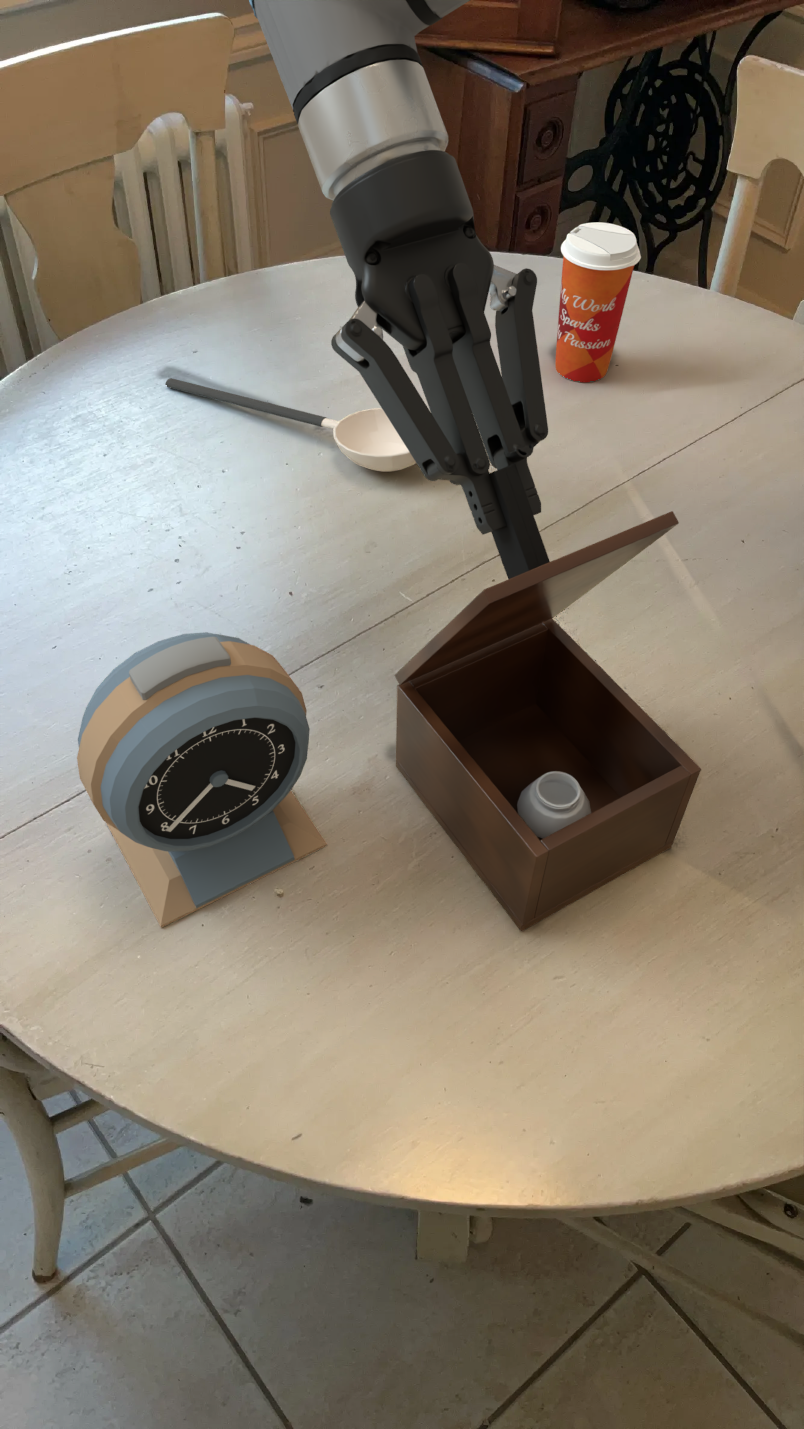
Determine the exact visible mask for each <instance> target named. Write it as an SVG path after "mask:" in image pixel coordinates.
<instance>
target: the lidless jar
mask: <svg viewBox="0 0 804 1429" xmlns="http://www.w3.org/2000/svg"><path fill="white" fill-rule="evenodd" d="M517 809H518V814H519V816H520V817H521V818H522V819H523V820H524V822H525V823H526V824H527V825H528V826H529V828H530V829H531V830H532V831H533V833H534V834H535V835H536V836H537V837H540V838H545V837H547V836H549V835H551V834H553V833H555V832H557V831H559V830H560V829H562V828H564V827H566V826H568V825H570V824H572V823H574V822H576V821H577V820H579V819H581V818H583V817H585V816H587V815H589V814H591V808H590V802H589V800H588V798H587V797H586V795H585V793H584V792H583V790H582V789H581V787H580V785H579V783H578V782H577V780H576V779H575V778H573V777H572V776H571V775H569V774H567V773H564V772H559V771H553V772H548V773H546V774H544V775H542V776H541V777H539V778H538V779H536V780H535V781H533V782H532V783H531V784H529V785H528V786H527V787H526V788H525V789H524V790H523V791H522V792H521V795H520V797H519V800H518V803H517Z"/></svg>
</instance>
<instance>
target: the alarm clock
mask: <svg viewBox="0 0 804 1429" xmlns="http://www.w3.org/2000/svg"><path fill="white" fill-rule="evenodd" d="M307 711H308V710H307V706H306V704H305V700H304V696H303V693H302V691H301V689H300V688H299V687H298V686H297V684H296V683H295V681H294V680H293V679H292V677H291V675H289V674H288V671H286V669H285V668H284V667H283V666H282V664H281V663H280V662H279V661H278V660H277V658H276V657H275V656H274V655H273V654H271V653H269V652H267V651H265V650H264V649H262V648H260V647H259V646H257V645H254V644H251V643H249V642H247V641H245V640H243V639H241V638H239V637H235V636H228V635H223V634H219V633H213V632H207V631H205V632H193V633H182V634H179V635H174V636H171V637H168V638H165V639H161V640H158V641H156V642H154V643H152V644H150V645H148V646H146V647H144V648H142V649H140V650H138V651H136V652H134V653H133V654H132V655H130V656H129V657H128V658H126V659H125V660H124V661H122V662H121V663H120V664H118V665H117V666H116V667H115V668H113V669H112V670H111V671H110V672H109V674H107V676H106V677H105V678H104V680H102V681H101V682H100V684H99V685H98V686H97V687H96V688H95V690H94V692H93V694H92V696H91V698H90V699H89V702H88V703H87V705H86V707H85V709H84V713H83V714H82V719H81V722H80V727H79V732H78V736H77V745H78V752H77V756H76V762H77V770H78V775H79V779H80V781H81V784H82V786H83V788H84V789H85V791H86V793H87V795H88V797H89V798H90V801H91V803H92V805H93V806H94V808H95V810H96V811H97V813H98V814H99V816H100V817H101V819H102V821H104V823H105V824H106V825H107V828H108V829H109V831H110V833H111V835H112V837H113V839H114V841H115V842H116V845H117V844H118V845H117V847H118V848H119V850H120V852H121V854H122V856H123V858H124V860H125V862H126V863H127V865H129V866H128V867H129V869H130V871H131V873H132V875H133V877H134V879H135V881H136V883H137V884H138V886H139V888H140V891H141V892H142V894H143V896H144V898H145V900H146V902H147V903H148V905H149V907H150V909H151V911H152V914H153V915H154V918H155V919H156V921H157V923H158V925H159V926H160V928H161V929H162V928H164V927H167V926H168V925H170V924H172V923H174V922H176V921H178V920H181V919H182V918H184V917H186V916H188V915H190V914H192V913H194V912H196V911H199V910H200V909H202V908H204V907H207V906H209V905H211V904H212V903H214V902H216V901H218V900H221V899H223V898H224V897H227V896H229V895H230V894H232V893H235V892H237V891H238V890H241V889H242V888H244V887H247V886H249V885H251V884H252V883H254V882H257V881H259V880H261V879H262V878H264V877H267V876H269V875H271V874H273V873H275V872H276V871H279V870H281V869H283V868H285V867H287V866H289V865H292V864H293V863H295V862H297V861H299V860H301V859H303V858H305V857H307V856H309V855H311V854H313V853H315V852H317V851H320V850H321V849H323V848H326V847H328V842H327V840H325V838H324V837H323V836H322V833H321V832H320V831H319V829H318V828H317V826H316V825H315V823H314V822H313V821H312V819H311V817H310V816H309V815H308V813H307V812H306V810H305V809H304V807H303V805H302V804H301V802H300V801H299V800H298V798H297V797H296V795H295V794H294V793H293V791H292V789H293V788H294V786H295V784H296V783H297V782H298V781H299V779H300V777H301V775H302V772H303V769H304V768H305V765H306V762H307V760H308V753H309V743H310V742H309V740H310V730H311V728H310V725H309V721H308V718H307ZM250 883H251V884H250Z"/></svg>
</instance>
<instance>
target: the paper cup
mask: <svg viewBox="0 0 804 1429" xmlns="http://www.w3.org/2000/svg"><path fill="white" fill-rule="evenodd" d="M637 241H638V240H637V238H636V235H635V233H634V232H632V231H631V230H629V228H626V227H624V226H621V225H618V224H614V223H609V222H600V221H599V222H586V223H581V224H578V226H576V227H574V228H573V229H572V230H570V231H569V233H567V234H566V238H565V239H564V240H563V242H562V243H561V245H560V252H561V255H562V267H561V268H562V269H561V282H560V295H559V304H558V305H559V306H558V320H557V333H556V346H555V371H556V372H557V374H559V373H560V374H559V375H560V376H561V375H562V376H561V377H563V376H564V377H565V378H564V377H563V378H564V379H566V378H568V379H571V380H573V381H572V382H575V381H580V382H579V383H591V382H590V381H594V382H597V381H599V380H598V379H600V380H601V378H602V379H603V378H604V377H605V376H606V375H607V373H608V370H609V368H610V363H611V360H612V356H613V352H614V348H615V345H616V342H617V336H618V333H619V328H620V324H621V321H622V316H623V313H624V308H625V304H626V301H627V296H628V292H629V288H630V284H631V279H632V276H633V272H634V268H635V265H637V264H638V263H639V262H640V260H641V259H642V256H641V251H640V248H639V246H638V243H637ZM568 379H567V380H568ZM571 380H570V381H571ZM596 380H597V381H596Z"/></svg>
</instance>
